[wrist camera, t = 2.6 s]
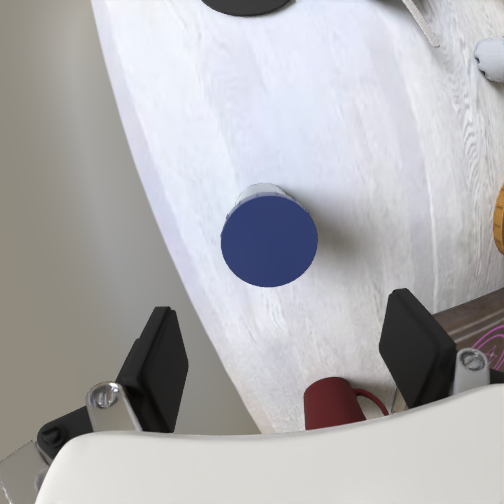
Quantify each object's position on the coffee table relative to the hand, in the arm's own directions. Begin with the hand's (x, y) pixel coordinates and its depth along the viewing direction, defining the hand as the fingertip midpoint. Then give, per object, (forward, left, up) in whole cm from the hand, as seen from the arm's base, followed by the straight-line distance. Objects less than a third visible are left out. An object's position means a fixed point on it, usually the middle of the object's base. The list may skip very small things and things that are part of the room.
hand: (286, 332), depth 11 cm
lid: (0, 0, -11) cm, 11 cm away
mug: (+28, +10, -20) cm, 36 cm away
